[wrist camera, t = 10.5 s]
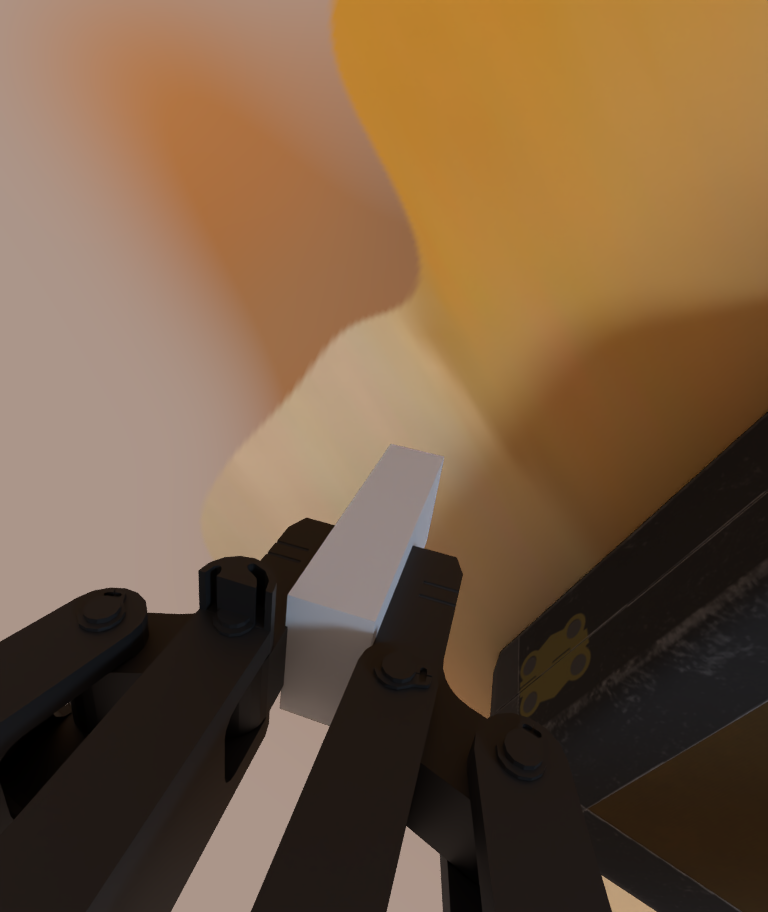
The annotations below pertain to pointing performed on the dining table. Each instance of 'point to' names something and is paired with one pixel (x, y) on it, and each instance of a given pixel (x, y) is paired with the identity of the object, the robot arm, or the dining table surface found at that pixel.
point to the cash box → (667, 692)
